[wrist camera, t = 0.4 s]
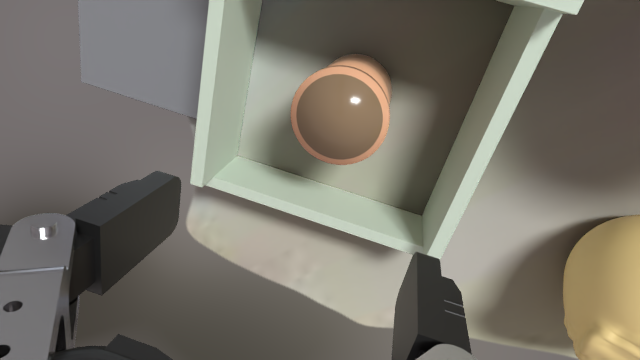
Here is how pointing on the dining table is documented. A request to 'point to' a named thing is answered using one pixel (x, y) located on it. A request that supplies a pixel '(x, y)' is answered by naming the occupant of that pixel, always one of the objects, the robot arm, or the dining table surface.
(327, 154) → the terracotta pot
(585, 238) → the sculpture
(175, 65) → the slate board
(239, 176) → the pale green open box
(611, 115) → the dining table surface
